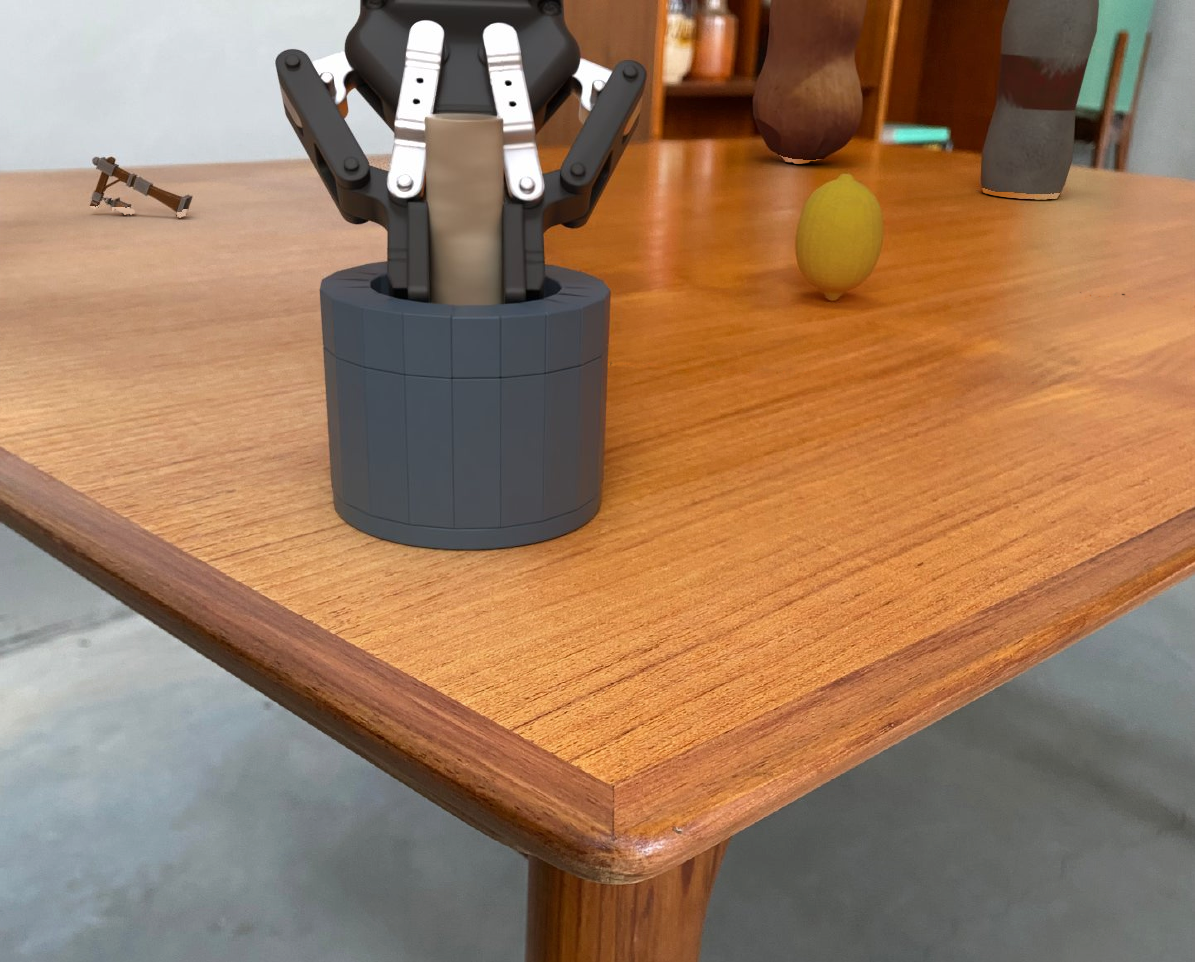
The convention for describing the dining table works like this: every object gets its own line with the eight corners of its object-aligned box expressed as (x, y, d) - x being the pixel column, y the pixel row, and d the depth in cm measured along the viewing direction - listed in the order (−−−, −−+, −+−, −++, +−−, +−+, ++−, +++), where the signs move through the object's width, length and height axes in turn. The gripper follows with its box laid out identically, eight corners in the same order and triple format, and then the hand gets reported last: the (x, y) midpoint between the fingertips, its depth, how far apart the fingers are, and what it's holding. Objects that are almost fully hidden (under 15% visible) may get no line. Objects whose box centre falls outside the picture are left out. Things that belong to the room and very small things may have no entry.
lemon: (867, 293, 84) (882, 169, 81) (880, 311, 79) (898, 180, 76) (785, 290, 84) (797, 166, 81) (793, 308, 79) (807, 176, 76)
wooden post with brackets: (84, 200, 103) (99, 148, 101) (177, 244, 104) (193, 193, 103) (75, 203, 101) (91, 150, 100) (170, 247, 103) (187, 196, 101)
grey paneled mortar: (291, 535, 43) (274, 303, 40) (382, 446, 52) (374, 250, 49) (576, 562, 42) (583, 325, 38) (618, 466, 51) (627, 267, 47)
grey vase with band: (973, 196, 133) (1025, -127, 120) (977, 187, 141) (1026, -118, 128) (1065, 204, 130) (1128, -126, 117) (1064, 193, 138) (1123, -117, 125)
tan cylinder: (407, 472, 45) (394, 118, 40) (435, 442, 48) (426, 110, 43) (505, 481, 44) (504, 123, 39) (526, 449, 48) (528, 115, 42)
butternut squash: (877, 167, 155) (905, -58, 144) (795, 171, 149) (818, -65, 138) (804, 155, 166) (826, -56, 155) (724, 158, 159) (741, -63, 148)
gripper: (258, -175, 43) (235, 245, 38) (655, -156, 45) (690, 252, 39) (288, -5, 50) (273, 371, 45) (630, 7, 52) (657, 372, 46)
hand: (468, 313), depth 42 cm, fingers closed on tan cylinder, 2 cm apart
